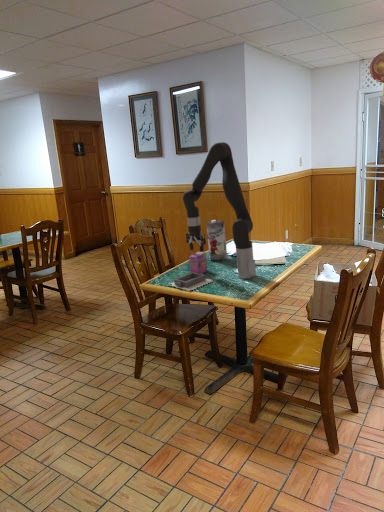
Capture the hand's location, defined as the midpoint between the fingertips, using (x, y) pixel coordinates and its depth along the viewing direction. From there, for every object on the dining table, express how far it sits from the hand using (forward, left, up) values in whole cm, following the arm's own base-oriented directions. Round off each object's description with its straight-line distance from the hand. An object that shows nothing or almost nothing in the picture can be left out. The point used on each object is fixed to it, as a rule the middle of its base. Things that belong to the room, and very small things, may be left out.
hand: (196, 250), depth 237 cm
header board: (-10, +17, -14) cm, 24 cm away
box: (0, 0, -14) cm, 14 cm away
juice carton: (+8, -26, -14) cm, 31 cm away
